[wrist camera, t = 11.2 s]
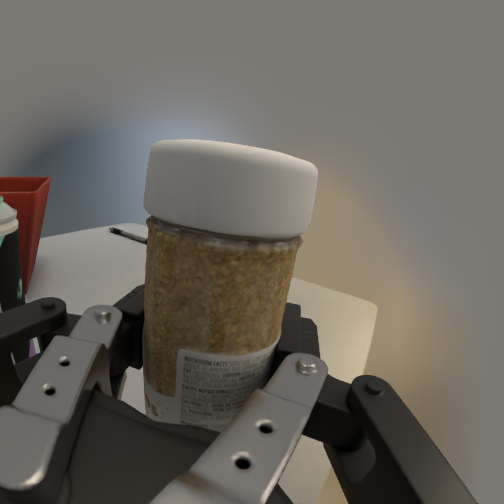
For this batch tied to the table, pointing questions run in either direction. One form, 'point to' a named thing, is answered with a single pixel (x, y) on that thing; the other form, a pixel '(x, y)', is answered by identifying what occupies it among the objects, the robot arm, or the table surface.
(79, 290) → the table surface
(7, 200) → the flower pot
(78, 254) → the table surface
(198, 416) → the sprinkles bottle
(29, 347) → the spray can
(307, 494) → the table surface
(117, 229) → the pen
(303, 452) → the table surface
